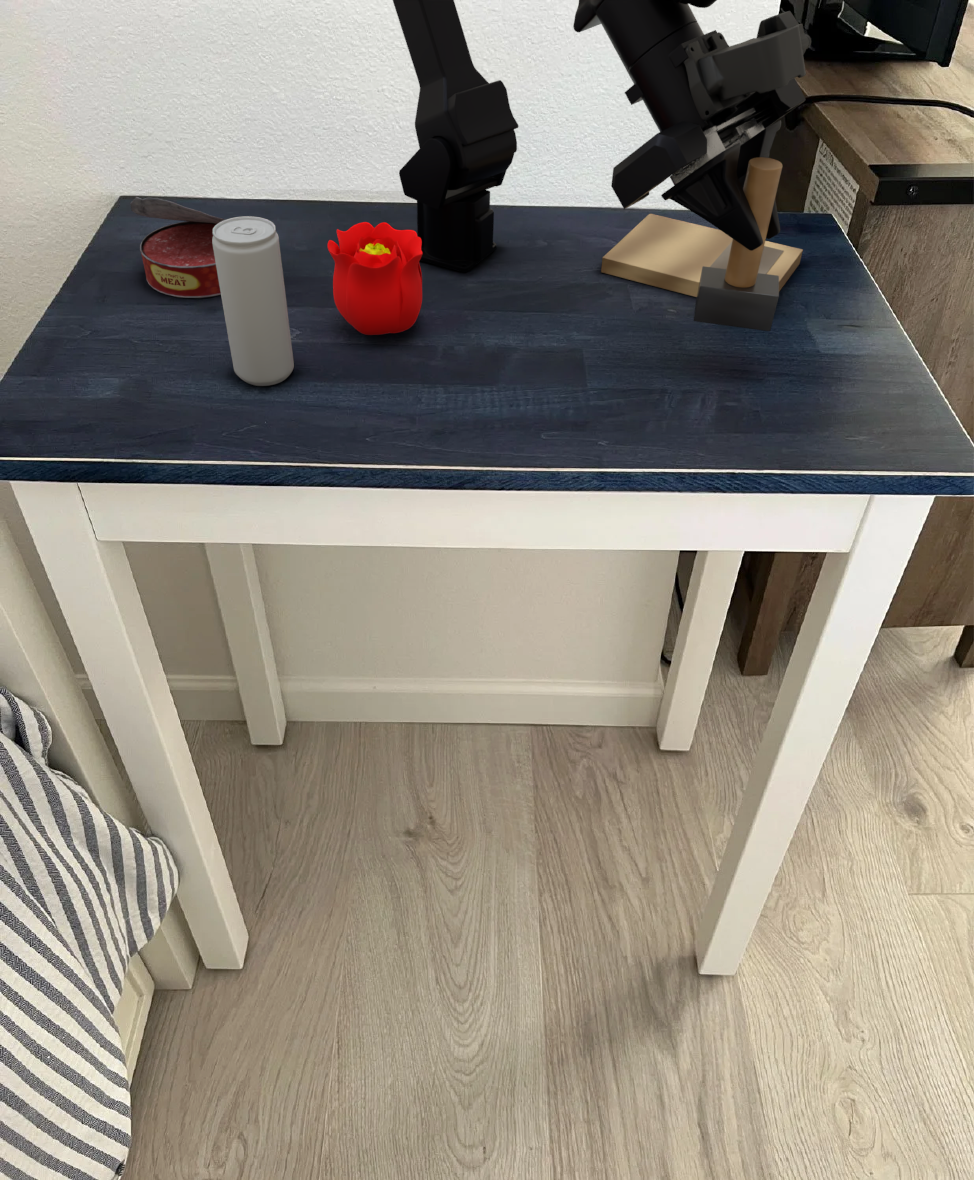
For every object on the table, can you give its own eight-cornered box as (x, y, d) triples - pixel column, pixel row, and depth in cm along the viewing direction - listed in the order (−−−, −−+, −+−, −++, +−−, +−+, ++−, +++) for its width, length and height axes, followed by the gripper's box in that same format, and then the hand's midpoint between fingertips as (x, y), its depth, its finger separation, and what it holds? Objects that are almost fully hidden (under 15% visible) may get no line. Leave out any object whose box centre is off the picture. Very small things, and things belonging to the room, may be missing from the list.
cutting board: (600, 272, 96) (602, 256, 95) (647, 227, 104) (650, 212, 103) (762, 314, 91) (766, 298, 90) (799, 264, 99) (803, 248, 98)
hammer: (693, 321, 80) (722, 167, 71) (695, 300, 82) (724, 149, 74) (770, 331, 79) (808, 177, 71) (770, 310, 81) (807, 158, 73)
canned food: (153, 319, 97) (103, 215, 93) (246, 281, 101) (201, 179, 97) (184, 312, 87) (129, 196, 84) (284, 270, 91) (237, 157, 87)
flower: (433, 311, 90) (432, 224, 85) (416, 355, 84) (414, 264, 79) (347, 303, 91) (340, 216, 85) (324, 346, 85) (316, 255, 80)
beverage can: (282, 392, 80) (263, 246, 72) (225, 384, 80) (199, 239, 72) (303, 361, 83) (286, 219, 75) (247, 354, 84) (225, 212, 76)
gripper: (676, -2, 61) (798, 229, 64) (812, -50, 72) (911, 150, 74) (559, 104, 70) (671, 303, 73) (696, 48, 81) (789, 223, 83)
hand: (765, 241), depth 75 cm, fingers closed on hammer, 2 cm apart
